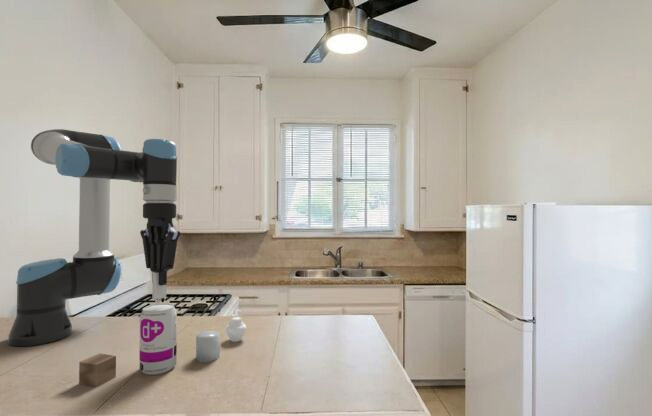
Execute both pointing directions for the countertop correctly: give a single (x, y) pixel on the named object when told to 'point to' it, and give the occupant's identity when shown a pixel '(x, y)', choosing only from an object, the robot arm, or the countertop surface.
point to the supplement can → (158, 339)
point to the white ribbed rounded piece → (236, 329)
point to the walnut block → (97, 370)
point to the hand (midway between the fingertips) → (159, 297)
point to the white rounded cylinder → (207, 346)
